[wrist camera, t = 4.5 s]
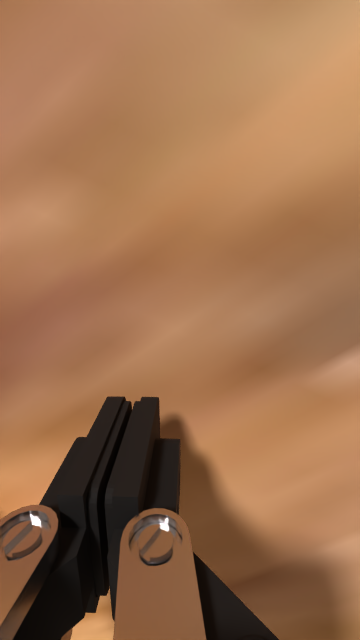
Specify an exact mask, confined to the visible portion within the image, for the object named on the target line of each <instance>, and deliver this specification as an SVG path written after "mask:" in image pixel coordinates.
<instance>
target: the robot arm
mask: <svg viewBox="0 0 360 640" xmlns="http://www.w3.org/2000/svg"><path fill="white" fill-rule="evenodd" d="M179 495H180V439H160V417H159V397H142V398H141V401H135V403H134V406H133V409H132V405H131V401H126V399H125V397H107V398H106V400H105V402H104V404H103V406H102V408H101V410H100V412H99V414H98V416H97V418H96V420H95V422H94V424H93V426H92V428H91V430H90V431H89V433H88V435H87V437H78V438H77V439H76V440H75V441H74V443H73V445H72V447H71V449H70V450H69V452H68V454H67V456H66V458H65V459H64V461H63V463H62V465H61V466H60V468H59V470H58V472H57V474H56V475H55V477H54V479H53V481H52V483H51V484H50V486H49V488H48V490H47V491H46V493H45V495H44V497H43V499H42V500H41V502H40V504H39V505H30V506H26V507H22V508H20V509H17V510H15V511H13V512H11V513H9V514H8V515H7V516H5V517H4V518H2V519H1V520H0V640H70V639H71V635H72V628H73V627H74V626H75V625H76V624H77V623H78V622H80V621H81V620H82V619H83V618H84V616H85V612H86V613H96V609H97V605H98V601H99V597H100V595H101V596H106V595H107V593H108V590H109V586H110V595H111V606H112V617H113V620H114V622H115V624H114V637H113V640H279V639H278V638H277V637H276V636H275V635H274V634H273V633H272V632H271V631H270V630H269V629H268V628H267V627H266V626H265V625H264V624H263V623H262V622H261V621H260V620H259V619H258V618H257V617H256V616H255V615H254V614H253V613H252V612H251V611H250V610H249V609H248V608H247V607H246V606H245V604H244V603H243V602H242V601H241V600H240V599H239V598H238V597H237V596H236V595H235V594H234V593H233V592H232V591H231V590H230V589H229V588H228V587H227V586H226V585H225V584H224V583H223V582H222V581H221V580H220V579H219V578H218V577H217V576H216V575H215V574H214V573H213V572H212V571H211V570H210V569H209V568H208V567H207V566H206V565H205V564H204V563H203V562H202V561H201V559H200V558H199V557H198V556H197V555H196V554H195V553H194V552H193V551H192V545H191V538H190V533H189V530H188V527H187V524H186V523H185V522H184V520H183V519H182V518H181V517H180V516H179Z"/></svg>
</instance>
